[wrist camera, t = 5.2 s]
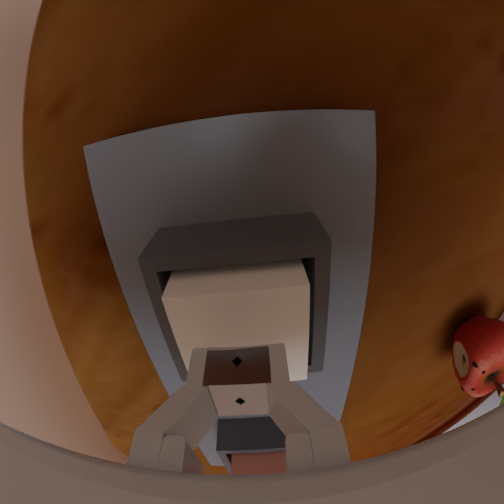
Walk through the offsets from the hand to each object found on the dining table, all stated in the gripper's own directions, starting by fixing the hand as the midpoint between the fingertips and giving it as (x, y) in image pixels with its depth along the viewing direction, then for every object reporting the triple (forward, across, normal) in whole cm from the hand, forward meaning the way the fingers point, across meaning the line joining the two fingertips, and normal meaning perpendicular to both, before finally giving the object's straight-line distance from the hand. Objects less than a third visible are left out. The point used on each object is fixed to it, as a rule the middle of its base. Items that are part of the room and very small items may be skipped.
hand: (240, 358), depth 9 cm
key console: (+8, 0, +9) cm, 12 cm away
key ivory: (+4, 0, +1) cm, 4 cm away
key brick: (+3, 0, +17) cm, 17 cm away
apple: (+8, -20, +10) cm, 24 cm away
